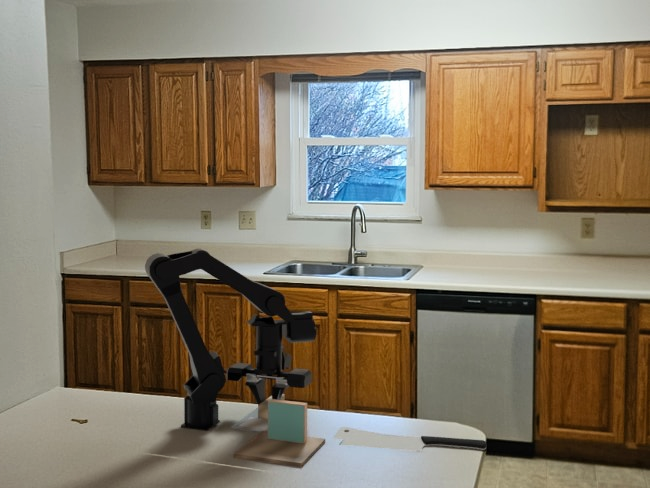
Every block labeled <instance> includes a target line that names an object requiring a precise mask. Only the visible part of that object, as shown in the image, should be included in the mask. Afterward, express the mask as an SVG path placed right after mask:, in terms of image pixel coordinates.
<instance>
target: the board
mask: <svg viewBox="0 0 650 488" xmlns="http://www.w3.org/2000/svg"><path fill="white" fill-rule="evenodd" d="M325 443H326V438H321V437H314V436H307V442H306V443H305V444H302V443H294V442H287V441H279V440H272V439H268V431H261V432H258V434H257V435H255V436H253V438H251V439H250V440H249V441H248V442H246V443H245V444H244V445H243V446H241V447H240V448H239V449H238V450H237V451H235V452H234V453H233V458H234V459H235V458H236V459H242V460H243V459H244V460H249V461H256V462H257V461H258V462H264V463H271V464H278V465H284V466H292V467H300V468H302V467H303V466H304V465H305V464H307V462H308V461H309V460H310V459H311V458H312V457H313V456H314V455H315V454H316V452H317V451H319V450H320V448H321V447H322V446H324V444H325Z"/></svg>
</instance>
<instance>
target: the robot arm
mask: <svg viewBox="0 0 650 488" xmlns="http://www.w3.org/2000/svg"><path fill="white" fill-rule="evenodd" d="M144 269H145V273H146V275H147V276H148V277H149V279H150V280H151V282H152V283H153V285H154V286H155V288H156V289H157V290H158V291H159V293H160V294H161V296H162V297H163V299H164V302H165V303H166V305H167V307H168V310H169V312H170V314H171V316H172V319H173V321H174V323H175V325H176V328H177V329H178V332H179V334H180V337H181V339H182V341H183V343H184V346H185V348H186V350H187V352H188V354H189V355H188V356H189V363H190V369H191V371H192V375H191V376H190V377H189V378H188V379H187V381H185V382H184V383H183V388H184V391H185V393H186V394H187V396H185V397H184V399H183V404H184V405H183V407H184V409H183V411H184V413H183V414H184V415H183V416H184V422H183V423H182V424H181V425H180V428H183V429H189V430H196V431H197V430H198V431H205V432H207V431H209V430H210V429H212V428H213V427H215V426H216V425H218V424H220V423H221V420H220V419H219V404H217V397H218V394H219V392H221V391H222V390H223V388H224V386H225V384H226V382H227V381H233V382H239V381H241V379H242V378H243V377H245V378H246V381H245V383H244V385H245V387H248V388H249V390H250V392H251V394H252V395H253V397H254V398H255V401H256V403H257V406H258V405H259V404H261V403H262V402H263V401H265V400H266V389H265V386H266V381H267V380H274V381H275V382H276V383H275V384H274V385H272V386H271V396H272V399H276V400H281V397H282V395H283V394H284V393H285V391H286V389H287V388H289V387H290V388H297V389H305V388H306V387H307V386H309V385H310V384H312V382H313V374H312V372H311V370H310V369H304V368H303V369H302V368H294V369H292V370H291V362H292V354H288V353H285V347H284V346H283V339H285V340H287V343H289V344H293V343H295V344H296V343H305V342H306V343H307V342H308V343H309V342H314V341H316V338H317V327H316V323H315V319H314V313H313V312H312V311H310V310H306V311H302V312H292V311H290V310H289V308H288V307H287V305H286V299H285V295H284V294H282V293H281V292H280V291H278V290H276V289H274V288H272V287H270V286H268V285H265V284H263V283H260V282H257V281H254V280H252V279H249V278H248V277H246V276H245V275H243V274H241V273H239V272H238V271H236V270H235V269H234V268H232V267H230V266H228V265H227V264H226V263H224V262H222V261H220V260H219V259H217V258H216V257H214V256H213V255H211V254H210V252H208V251H206V250H205V249H202V248H194V249H193V250H189V251H188V250H187V251H183V252H176V253H172V254H171V253H170V254H164V253H160V252H159V253H157V252H156V253H154V254H151V255H150V256H148V258H147V259H146V262H145V265H144ZM197 270H202V271H204V272H205V273H207V274H208V275H211V276H212V277H213V278H215V279H217V280H219V281H220V282H222V283H223V284H225V285H227V286H228V287H230V288H231V289H233V290H235V291H236V292H238V293H240V294H241V295H242V296H243V297H244V298H245V299H246V300H247V301H248V302H249V303H250V304H251V305H253V307H254V308H256V309H257V310H258V311H259V312H261V313H263V314H264V315H266V316H259V315H258V314H256V313H254V314H253V316H251V318H249V319H248V320H247V322H246V323H247V324H248V325H250V326H251V327H256V343H255V344H256V345H255V347H256V349H254V351H253V355H254V356H256V359H255V361H256V362H255V363H256V367H254V368H253V365H252V364H251V363H245V362H244V363H242V362H236V363H234V364H232V365H231V366H229V367H228V368H227V369H225V368H224V367H223V363H222V360H221V357H220V355H219V354H218V353H217V352H216V351H215V350H211V351H210V352H209V350H208V349H207V347H206V345H205V342H204V340H203V338H202V335H201V333H200V330H199V328H198V326H197V324H196V322H195V319H194V317H193V315H192V312H191V310H190V308H189V305H188V303H187V300H186V299H185V297H184V294H183V291H182V284H181V283H182V282H181V278H180V276H183V275H187V274H189V273H191V272H194V271H197ZM276 316H277V317H279V318H280V319H274V318H273V317H276ZM285 370H291V371H289V372H287V371H285ZM225 374H226V375H225ZM226 380H227V381H226Z"/></svg>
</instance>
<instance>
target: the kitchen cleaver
mask: <svg viewBox="0 0 650 488" xmlns="http://www.w3.org/2000/svg"><path fill="white" fill-rule="evenodd" d="M333 439H339V440H341V442H339V446H340V445H341V446H350V447H351V446H352V447H363V448H377V449H387V450H388V449H389V450H401V451H403V450H404V451H412V452H414V451H415V452H423V448H424V447H444V448H445V447H446V448H455V447H460V448H459V449H467V448H473V449H472V450H477V449H478V451H486V450H487V442H486V441H485V440H483V439H472V438H471V439H469V438H455V437H441V436H428V435H421V436H420V437H419V436H408V435H407V436H406V435H400V434H399V435H397V434H388V433H387V434H386V433H382V432H381V433H379V432H374V431H368V430H364V429H363V430H362V429H358V428H353V427H350V426H349V427H348V426H342V427H340V428H339V429H338V430H337V432H336V433H335V435H334V437H333Z"/></svg>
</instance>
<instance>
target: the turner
mask: <svg viewBox="0 0 650 488" xmlns="http://www.w3.org/2000/svg"><path fill="white" fill-rule="evenodd" d="M285 395H286V394H284V393H283V395H282V397H281V400H284V401H286V400H285V397H286V396H285ZM270 399H272V395H270V396H269V397H268V398H265V401H263V402H262V403H261V404H259V405H258V404H257V408H258V418H253V417H250V418H249V419H247V420H246V421H245V422H243V423H242V424H241V425H239V428H241V429H248V430H256V431H266V430H268V400H270ZM248 430H247V431H248Z"/></svg>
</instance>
